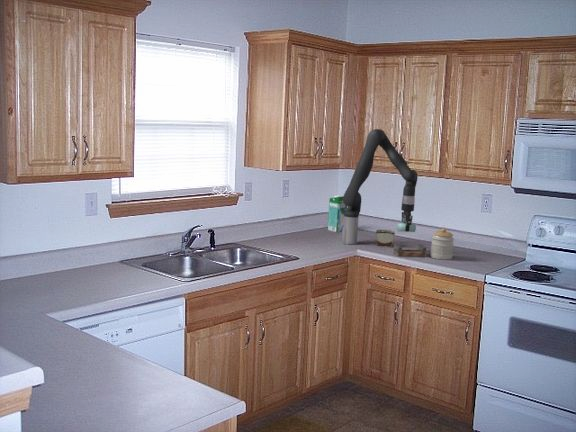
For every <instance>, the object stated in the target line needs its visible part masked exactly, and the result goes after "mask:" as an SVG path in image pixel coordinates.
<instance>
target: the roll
mask: <svg viewBox="0 0 576 432" xmlns="http://www.w3.org/2000/svg"><path fill="white" fill-rule="evenodd" d="M409 226H410V227H409V232H408V233H415V232H416V230H417V225H416V223H411V225H409ZM396 228H397V230H396V231H397V232H398V233H399V232H402V233H403V232H404V233H405V232H406V231H405V228H406V224H405V223H402V222H401V223H399V222H398V223H397V227H396Z"/></svg>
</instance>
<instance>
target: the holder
mask: <svg viewBox="0 0 576 432" xmlns="http://www.w3.org/2000/svg"><path fill="white" fill-rule="evenodd" d="M392 254H394V255H395V256H397V257H398V258H399V257H405V258H407V257H409V258H410V257H411V258H426V257H427V247H426V246H424V245H422V244H417V249H412V248H411V249H409V248H408V249H407V248H404V249H403V247H402V246H401V245H399V244H398V243H397V244H396V243H394V244H393V253H392Z"/></svg>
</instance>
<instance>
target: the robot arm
mask: <svg viewBox="0 0 576 432" xmlns="http://www.w3.org/2000/svg"><path fill="white" fill-rule="evenodd" d="M378 147H380V148H381V149H382V150H383V151H384V152H385V154H386V155H387V157H388V160H389V161H390V163H391V164H392V165H393V166H394V167H395V168H396V170H397V171H398V173H399V174H400V175H401V177H402V179H403V180H405V185H404V187H403V192H402V198H401V208H400V209H401V211H402V212H401V223H405V224H406V228H405V231H406V232H407V233H410V232H409V227H410V226H409V225H411V224H413V223H412V222H413V215H412V212H414V211H415V202H416V201H415V199H416V198H415V196H416V187H417V183H418V178H419V177H418V175H419V174H418V172H417V171H416V170H415V169H411V168H410V167H409V165H408V162H407V161H406V160H405V158H404V157H403V156H402V155H401V153H399V152H398V150H397V149H396V148H395V146H394V145H393V143H391V140H390V139H389V137H388V136H387V134H386V132H385V131H384V130H383V129H381V128H374V129H372V130H370V131H369V132H368V134H367V137H366V141H365V144H364V148H363V150H362V152H361V155H360V158H359V160H358V162H357V164H356V167H355V169H354V172H353V175H352V176H351V179H350V182H349V184H348V187H347V188H346V190H345V191H344V194H343V202H344V204H345V205H346V206H347V210H346V211H345V212H344V225H343V228H342V232H341V244H343V245H344V244H345V245H357V244H358V230H359V215H360V213H361V207H362V195H361V193H360V192H359V191H360V188H361V186H362V185H363V184H364V182H365V181H366V180H367V179H368V178H369V176H370V174H371V171H372V169H373V166H374V160H375V154H376V151H377V149H378Z"/></svg>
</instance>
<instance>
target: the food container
mask: <svg viewBox="0 0 576 432" xmlns="http://www.w3.org/2000/svg"><path fill="white" fill-rule="evenodd" d="M374 234H375V235H376V236H375V237H376V246H377V247H379V246H384V248H392V247H393V245H394V244H393V242H394V237H395V236H396V233H395V231H394V230H391V229H376V231H375V233H374ZM385 246H386V247H385Z"/></svg>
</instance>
